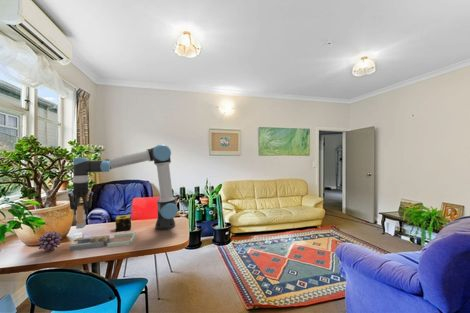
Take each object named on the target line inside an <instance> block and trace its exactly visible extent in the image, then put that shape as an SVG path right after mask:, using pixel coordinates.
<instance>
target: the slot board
mask: <svg viewBox="0 0 470 313" xmlns="http://www.w3.org/2000/svg"><path fill="white" fill-rule="evenodd" d="M107 235H108V234H107ZM92 237H93V236H91V237H90V236H89V237H80V238H78V239H77V243H73V244H71V245H70V246H69V251H70V252H73V251H81V250H87V249H88V250H90V249H98V248H106V247H107V244H108V243H113V242H114V239H115V237H114V238H110V235H108V242H107V243H106V244H104V241H98V242H91V238H92ZM107 248H108V247H107Z"/></svg>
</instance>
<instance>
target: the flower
mask: <svg viewBox="0 0 470 313" xmlns="http://www.w3.org/2000/svg"><path fill="white" fill-rule="evenodd" d="M61 234H62V233H61V232H57V231H56V230H53V231H52V230H49V231H45V233H42V236H41V235H39V237H38V239H37V241H38V242H36V245H39V247H38V250H43V251H44V252H46V253H47V251H49V250H50V251H51V250H52V251H54V250H55V248H58V246H60V245H61V243H62V240H63V239H64V238H63V237H62V235H61Z"/></svg>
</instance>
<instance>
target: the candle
mask: <svg viewBox="0 0 470 313" xmlns="http://www.w3.org/2000/svg"><path fill="white" fill-rule="evenodd" d="M131 216H132V214H123V215H116V217H115V233H121V232H128V231H131V230H132V221H131V220H132V218H131Z"/></svg>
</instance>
